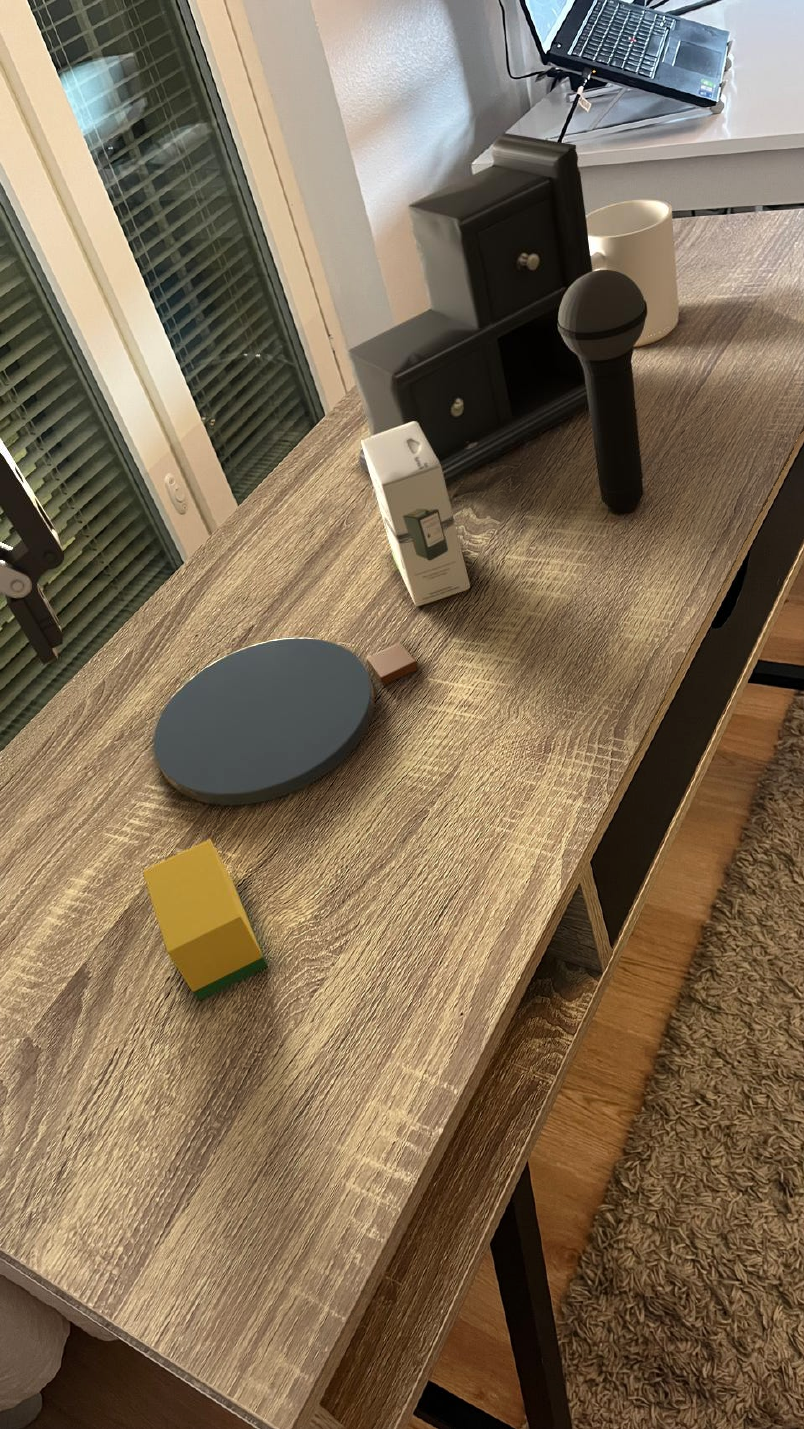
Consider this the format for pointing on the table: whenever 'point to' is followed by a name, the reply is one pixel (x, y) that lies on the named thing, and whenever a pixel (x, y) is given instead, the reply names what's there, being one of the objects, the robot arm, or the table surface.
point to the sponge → (203, 920)
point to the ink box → (416, 512)
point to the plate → (264, 721)
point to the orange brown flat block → (392, 663)
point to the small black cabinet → (486, 311)
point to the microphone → (609, 376)
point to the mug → (639, 256)
